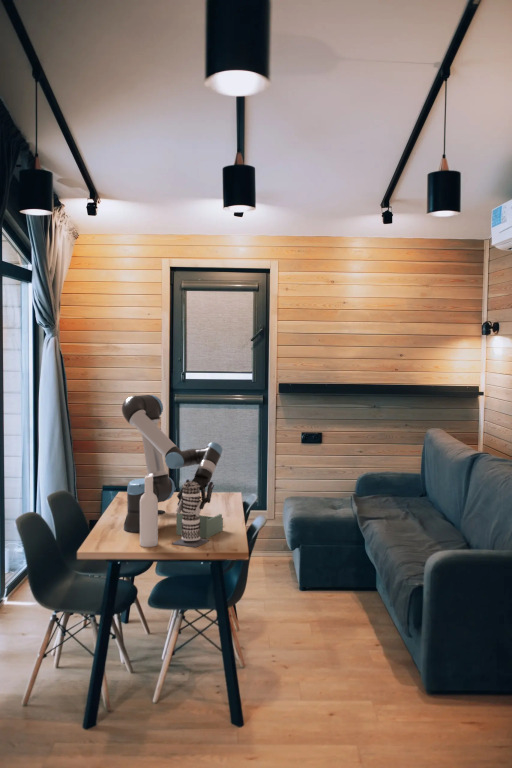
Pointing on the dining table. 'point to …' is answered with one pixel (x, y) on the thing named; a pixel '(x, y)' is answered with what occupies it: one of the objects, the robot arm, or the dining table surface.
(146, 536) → the bottle
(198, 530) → the decorative candle
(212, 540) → the dining table surface
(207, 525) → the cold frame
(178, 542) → the mat
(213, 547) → the dining table surface
